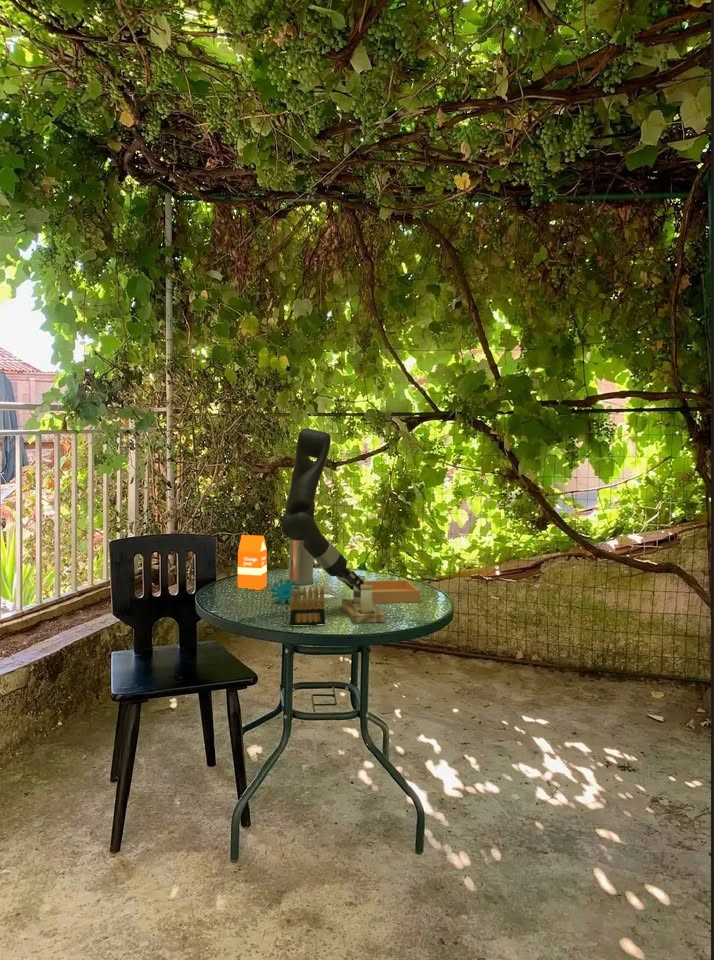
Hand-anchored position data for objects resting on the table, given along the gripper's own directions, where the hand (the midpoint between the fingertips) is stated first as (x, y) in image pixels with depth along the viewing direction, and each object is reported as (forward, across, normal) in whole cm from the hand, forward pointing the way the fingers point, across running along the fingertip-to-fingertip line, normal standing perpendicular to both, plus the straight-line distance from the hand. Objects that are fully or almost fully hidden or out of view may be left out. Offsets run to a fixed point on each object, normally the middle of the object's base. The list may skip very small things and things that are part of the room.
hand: (360, 590), depth 233 cm
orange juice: (-10, +44, +20) cm, 49 cm away
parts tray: (+17, +11, -8) cm, 22 cm away
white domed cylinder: (+4, 0, +5) cm, 6 cm away
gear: (-8, +19, +17) cm, 27 cm away
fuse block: (+3, -6, +6) cm, 9 cm away
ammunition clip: (-12, -10, +22) cm, 27 cm away
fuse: (+1, -12, +8) cm, 15 cm away
